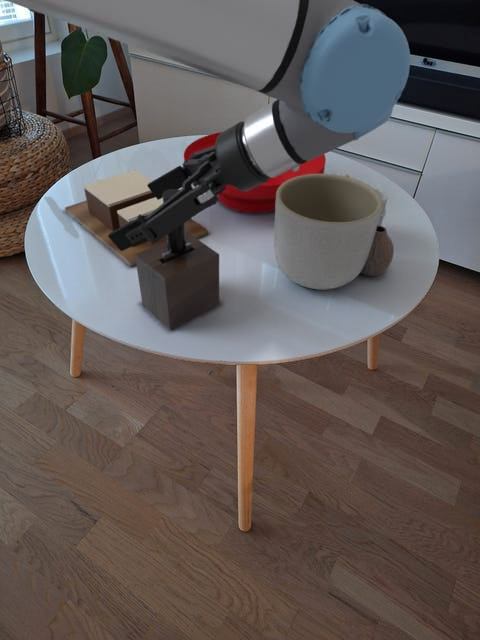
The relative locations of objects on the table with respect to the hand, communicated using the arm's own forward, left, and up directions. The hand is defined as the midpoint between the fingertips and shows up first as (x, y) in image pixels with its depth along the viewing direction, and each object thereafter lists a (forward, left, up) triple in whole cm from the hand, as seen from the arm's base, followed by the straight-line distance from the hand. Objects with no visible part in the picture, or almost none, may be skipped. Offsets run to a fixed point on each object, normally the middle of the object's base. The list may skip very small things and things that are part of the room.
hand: (135, 215), depth 66 cm
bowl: (+23, +36, -16) cm, 45 cm away
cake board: (-3, +26, -16) cm, 31 cm away
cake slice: (+1, +20, -15) cm, 25 cm away
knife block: (+6, -1, -16) cm, 17 cm away
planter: (+30, +6, -16) cm, 35 cm away
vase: (+40, +6, -16) cm, 44 cm away
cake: (-5, +28, -15) cm, 33 cm away
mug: (+41, +18, -16) cm, 47 cm away
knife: (+6, -1, -15) cm, 16 cm away
